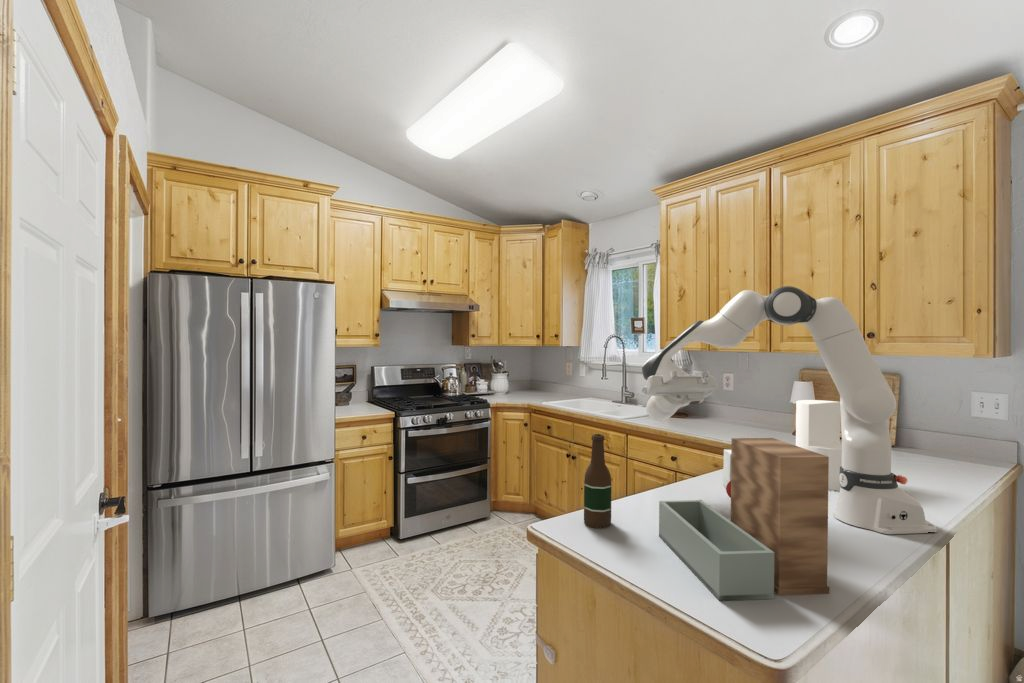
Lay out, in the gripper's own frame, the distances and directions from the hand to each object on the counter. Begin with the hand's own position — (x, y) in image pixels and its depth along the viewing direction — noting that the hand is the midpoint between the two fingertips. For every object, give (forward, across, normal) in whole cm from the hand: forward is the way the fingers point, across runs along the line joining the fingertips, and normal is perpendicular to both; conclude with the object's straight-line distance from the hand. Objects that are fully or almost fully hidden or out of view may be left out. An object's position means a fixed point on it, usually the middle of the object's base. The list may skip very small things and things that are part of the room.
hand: (690, 373), depth 135 cm
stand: (+7, +4, +51) cm, 51 cm away
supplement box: (-41, +27, +24) cm, 54 cm away
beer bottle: (-18, -27, +36) cm, 49 cm away
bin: (+3, -8, +48) cm, 49 cm away
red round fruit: (-30, +20, +30) cm, 47 cm away
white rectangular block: (-45, +62, +21) cm, 79 cm away
